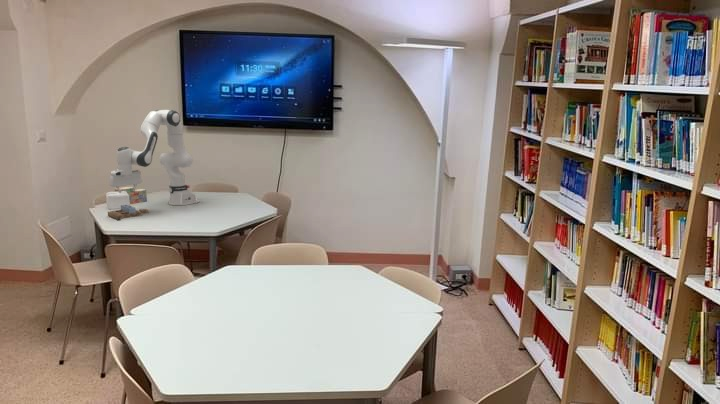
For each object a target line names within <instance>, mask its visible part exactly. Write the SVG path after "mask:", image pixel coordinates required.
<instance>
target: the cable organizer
mask: <svg viewBox="0 0 720 404" xmlns="http://www.w3.org/2000/svg"><path fill="white" fill-rule="evenodd" d="M105 197H106V200H105V201H106V208H107V210H109V211H113V210H121V205H125V204H127V205H130V206H131V204H130V201H129V195H128V193H127V192H125V191H121V193H119V192H115V191H109V192H106V194H105Z"/></svg>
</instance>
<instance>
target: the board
mask: <svg viewBox="0 0 720 404" xmlns="http://www.w3.org/2000/svg"><path fill="white" fill-rule="evenodd" d="M135 210H136V209H135ZM107 216H108V217H109V218H111V219H113V220H116V221H121V220H122V219H123V220H124V219H128V218H129V219H130V218H133V217H140V216H142V213H141V212H140V210H136V213H131V214H129V213H127V212H125V211H122V210H121V209H115V210H109V211H107Z"/></svg>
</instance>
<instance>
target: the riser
mask: <svg viewBox="0 0 720 404" xmlns="http://www.w3.org/2000/svg"><path fill="white" fill-rule="evenodd" d="M139 212H141V214H145V213H149V209H148V208H141V209H139Z"/></svg>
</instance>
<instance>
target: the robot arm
mask: <svg viewBox="0 0 720 404" xmlns="http://www.w3.org/2000/svg"><path fill="white" fill-rule="evenodd" d="M161 126H166V127H167V129H166V134H167V145H168V146H169V147H170V148H171V149H172V150H173V152H172V151H170V152H169V151H168V152H163V153H161V154H160V156H159V158H158V159H159V164H161V166H162V167H163V168H165V169H166V172H167V174H168V178H169V179H168V181H169V185H168V186H169V187H168V188H169V189H168V190H169V200H168V204H169V205H170V206H187V205H188V206H189V205H192V204H196V203H200V200H199V199H197V197H196V194H195V193H193V192H192V191H191V190H190V187H191V185H187V184H186V178H185V177H186V176H185V174H184V173H183V172H182V171H181V170H180V169H179V168H181V169H183V168H184V169H185V168H189V167H192V165H193V163H194V162H193V161H194V159H193V156H192V155H191V154H190V153H189V152H188V150H187V149H186V146H185V144H184V131H183V124H182V122H181V115H180V113H179V112H178V111H176V110H172V109H171V110H170V109H157V110H151V111H150V112H149V113H148V114H147V115H146V117H145V118H144V120H143V122H142V123H141V126H140V133H141V134H142V136H143V137H145V138H146V145H145V147H144V149H143V150H142V151H138V150H134V149H131V148H130V147H127V146H123V147H119V148H117V150H116V163H117V169H115V170H114V169H113V170H111V171H110V176H109V185H110V186H111V187H112V188H115V189H118V192H119V193H121V190H120V189H119V188H120V187H122V186H124V187H125V186H130V185H131V186H132V185H133V186H132V187H133V188H132V190H133V191H135V190H136V188H137V186H138V184H142V182H143V179H142V176H141V175H142V173H141V171H140V170H139V169H135V170H133V166H139V167H143V168H146V167H148V166H150V165H151V163H152V161H153V155H154V153H155V149H156V145H157V141H158V137H159V135H158V131H159V129H160V127H161Z"/></svg>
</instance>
